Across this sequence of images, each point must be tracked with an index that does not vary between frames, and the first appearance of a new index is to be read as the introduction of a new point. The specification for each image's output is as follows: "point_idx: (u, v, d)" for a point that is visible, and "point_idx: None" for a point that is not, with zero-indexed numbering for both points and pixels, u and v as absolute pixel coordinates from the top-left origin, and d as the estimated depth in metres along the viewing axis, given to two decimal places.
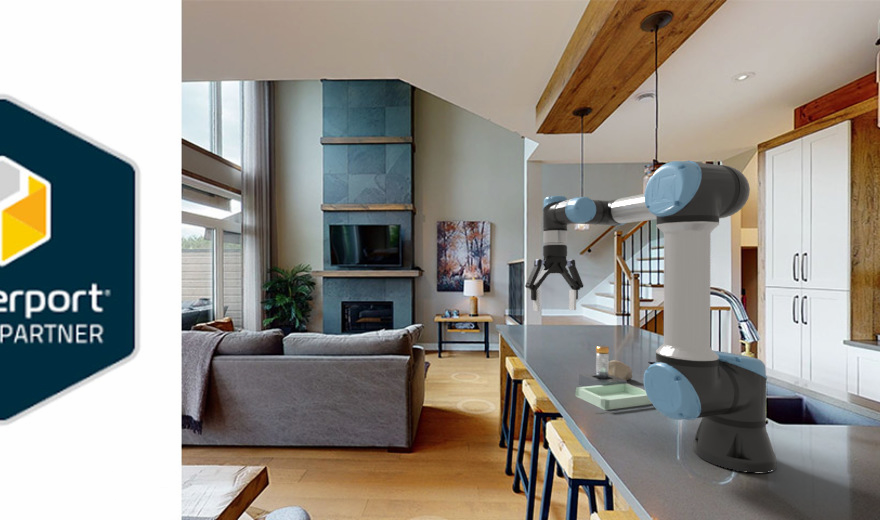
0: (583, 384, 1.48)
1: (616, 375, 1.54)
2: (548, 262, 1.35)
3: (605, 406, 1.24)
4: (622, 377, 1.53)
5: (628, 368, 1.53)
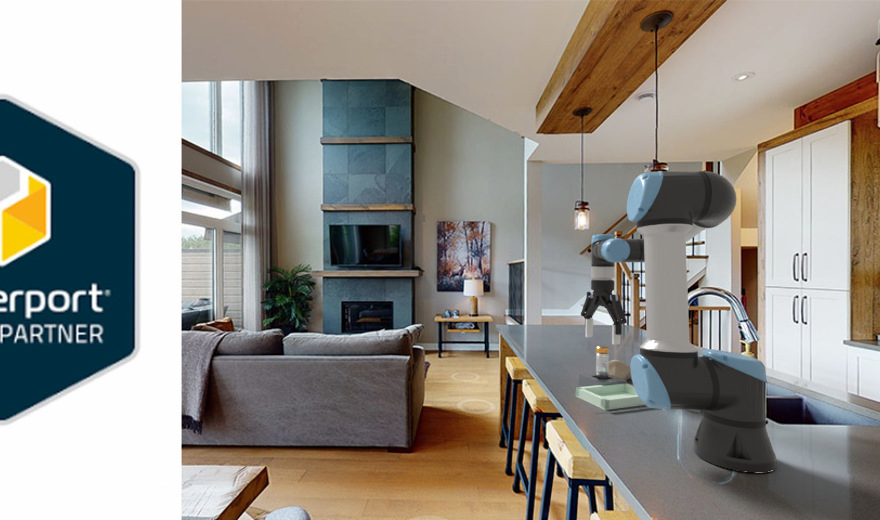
0: (583, 384, 1.48)
1: (616, 375, 1.54)
2: (593, 295, 1.49)
3: (605, 406, 1.24)
4: (622, 377, 1.54)
5: (628, 368, 1.54)
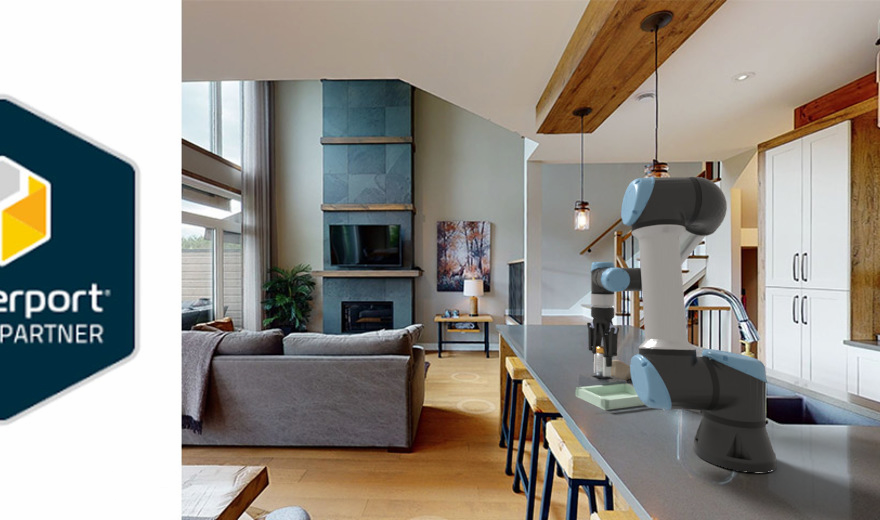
0: (583, 384, 1.48)
1: (617, 374, 1.54)
2: (593, 322, 1.49)
3: (605, 406, 1.24)
4: (623, 376, 1.54)
5: (629, 367, 1.54)
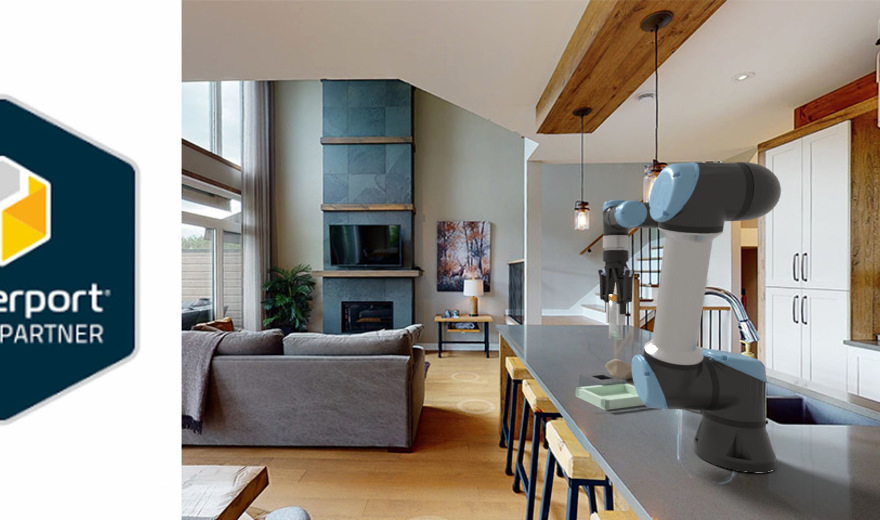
0: (583, 384, 1.48)
1: (618, 374, 1.55)
2: (606, 268, 1.37)
3: (605, 406, 1.24)
4: (624, 376, 1.55)
5: (630, 367, 1.55)
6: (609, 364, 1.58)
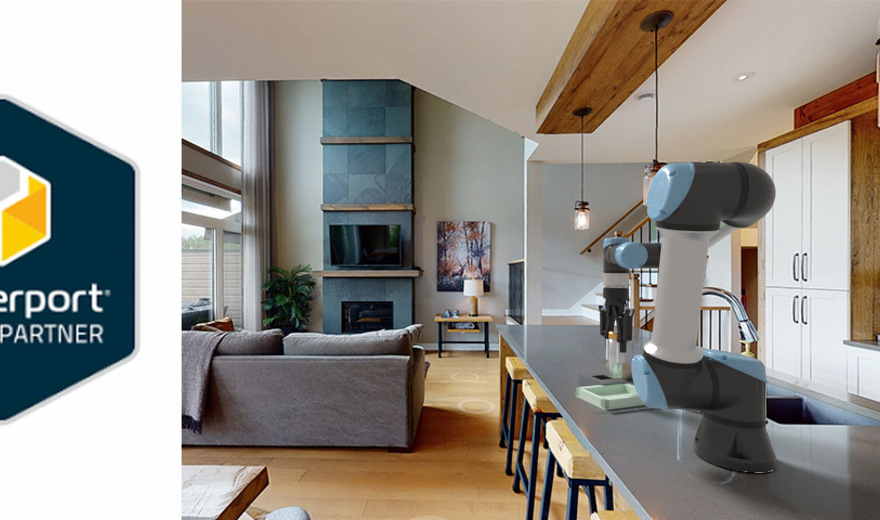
0: (583, 384, 1.48)
1: None
2: (606, 304, 1.36)
3: (605, 406, 1.24)
4: (624, 376, 1.55)
5: (630, 367, 1.55)
6: None
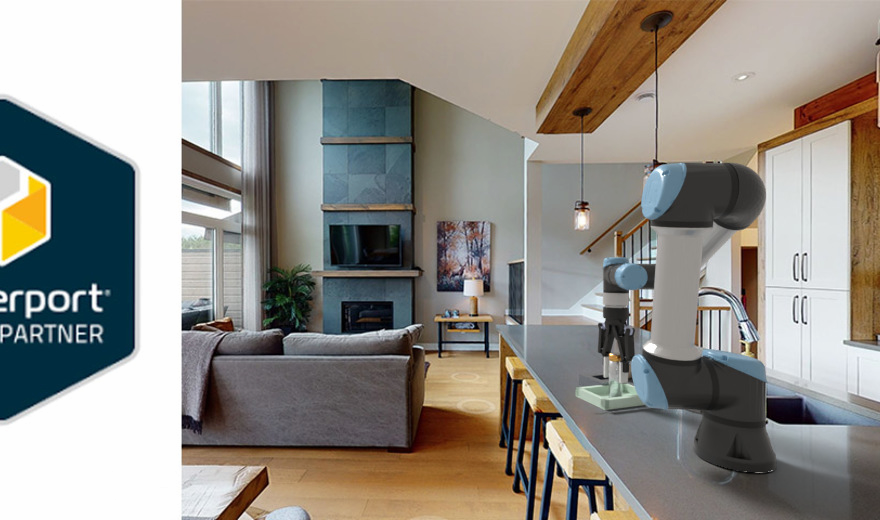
0: (583, 384, 1.48)
1: None
2: (606, 323, 1.36)
3: (605, 406, 1.24)
4: None
5: (630, 366, 1.56)
6: None
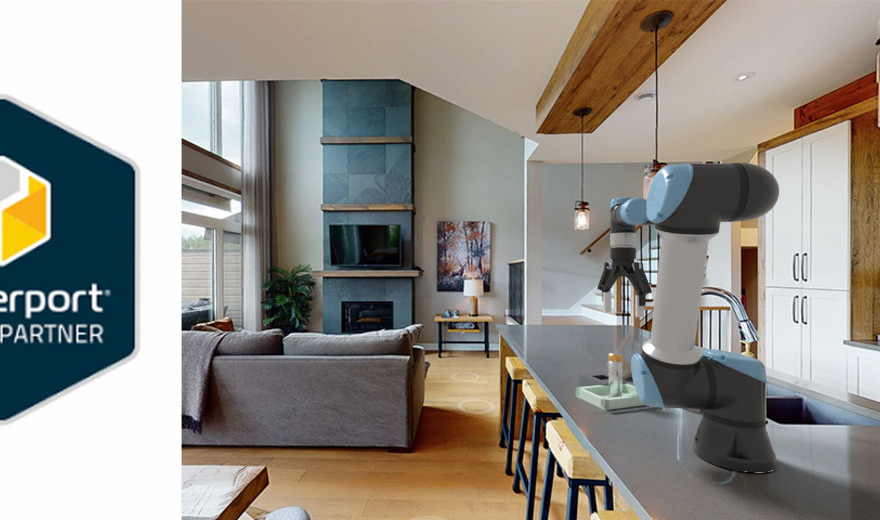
0: (583, 384, 1.48)
1: None
2: (613, 265, 1.37)
3: (605, 406, 1.24)
4: (625, 375, 1.56)
5: None
6: None
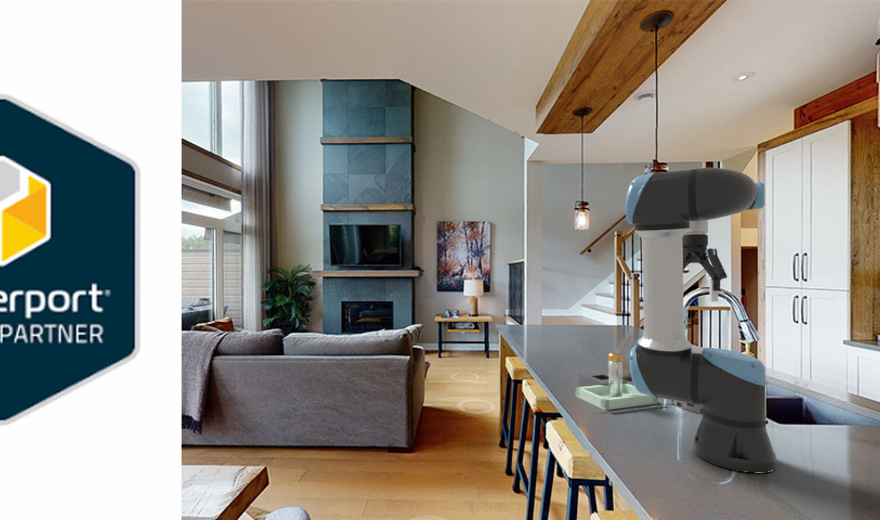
0: (583, 384, 1.48)
1: None
2: (683, 252, 1.40)
3: (605, 406, 1.24)
4: (626, 374, 1.57)
5: None
6: None
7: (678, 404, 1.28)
